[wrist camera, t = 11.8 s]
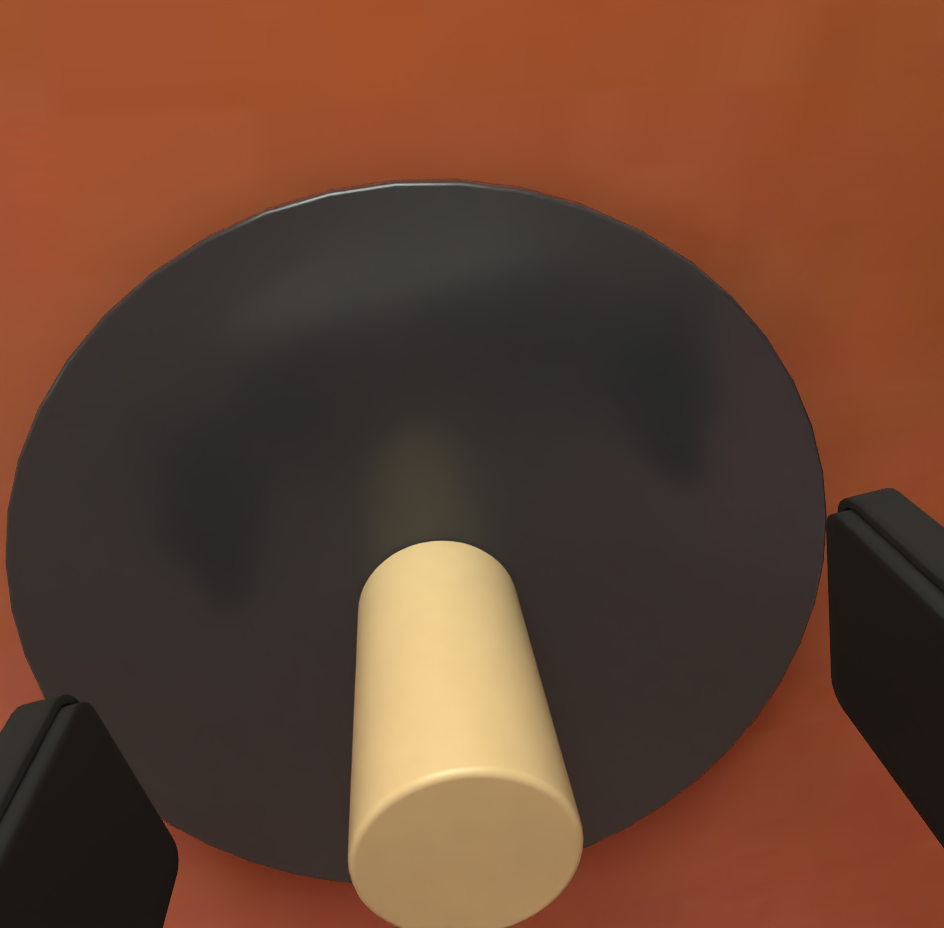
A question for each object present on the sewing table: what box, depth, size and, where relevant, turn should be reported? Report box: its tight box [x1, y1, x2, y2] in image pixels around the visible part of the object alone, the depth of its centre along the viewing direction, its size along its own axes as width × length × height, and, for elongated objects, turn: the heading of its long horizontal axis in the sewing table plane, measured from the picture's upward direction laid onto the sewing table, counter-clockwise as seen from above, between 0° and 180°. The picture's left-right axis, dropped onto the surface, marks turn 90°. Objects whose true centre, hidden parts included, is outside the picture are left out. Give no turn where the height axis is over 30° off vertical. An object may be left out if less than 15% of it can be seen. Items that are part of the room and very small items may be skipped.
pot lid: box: [6, 179, 827, 928], centre depth 11 cm, size 13×13×6 cm
